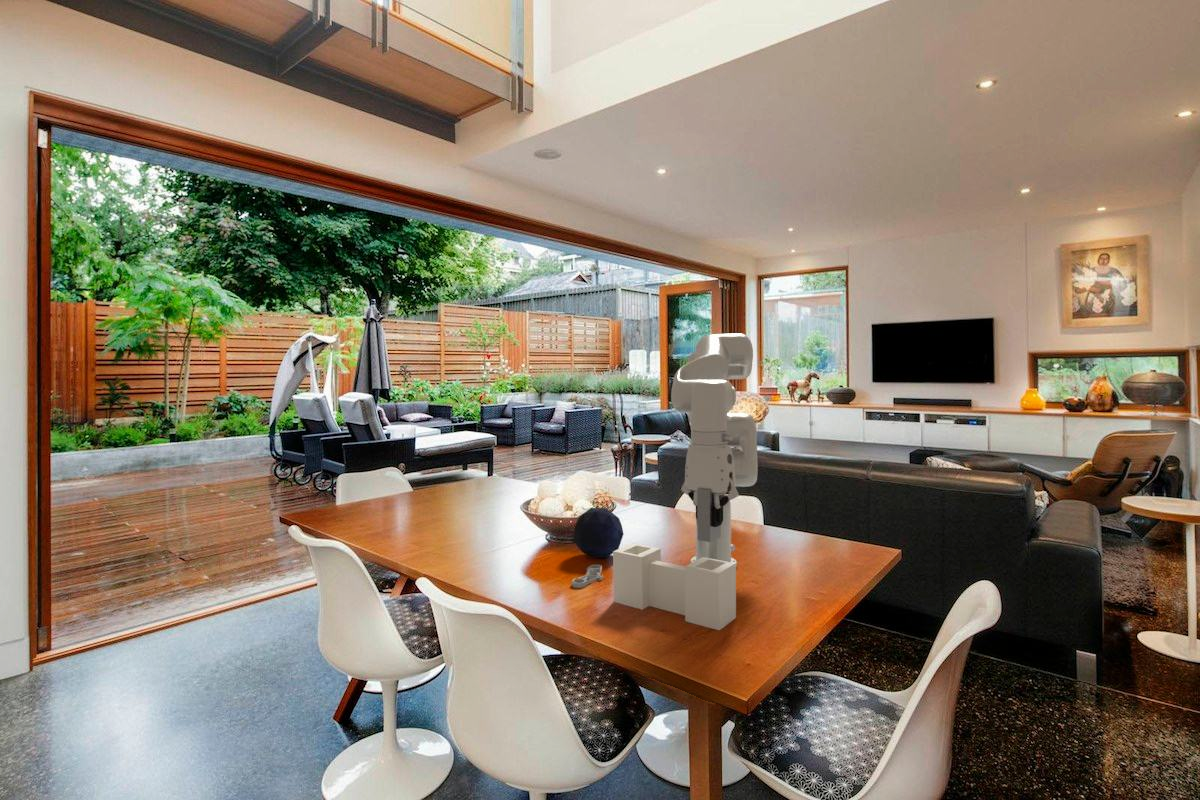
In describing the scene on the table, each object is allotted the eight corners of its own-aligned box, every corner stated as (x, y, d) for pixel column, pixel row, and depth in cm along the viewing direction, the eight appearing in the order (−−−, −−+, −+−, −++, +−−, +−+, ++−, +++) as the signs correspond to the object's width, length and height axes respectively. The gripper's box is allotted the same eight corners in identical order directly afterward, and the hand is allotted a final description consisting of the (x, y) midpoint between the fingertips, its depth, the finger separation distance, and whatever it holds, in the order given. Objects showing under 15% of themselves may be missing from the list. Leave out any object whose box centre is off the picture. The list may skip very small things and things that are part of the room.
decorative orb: (622, 529, 187) (593, 492, 183) (640, 541, 172) (609, 502, 169) (587, 560, 183) (557, 524, 180) (602, 576, 169) (571, 537, 166)
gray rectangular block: (708, 534, 132) (708, 485, 132) (721, 536, 130) (720, 486, 130) (697, 540, 128) (697, 488, 128) (710, 542, 127) (709, 490, 126)
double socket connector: (633, 591, 147) (632, 543, 147) (736, 617, 131) (735, 563, 130) (613, 601, 141) (613, 551, 140) (719, 630, 125) (719, 573, 124)
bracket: (558, 578, 154) (594, 562, 166) (559, 586, 154) (594, 569, 166) (581, 584, 149) (616, 567, 161) (582, 591, 149) (617, 574, 161)
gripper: (752, 439, 126) (752, 526, 127) (684, 435, 136) (684, 516, 137) (737, 443, 121) (737, 534, 121) (666, 438, 131) (667, 522, 131)
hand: (709, 523), depth 129 cm, fingers closed on gray rectangular block, 3 cm apart
